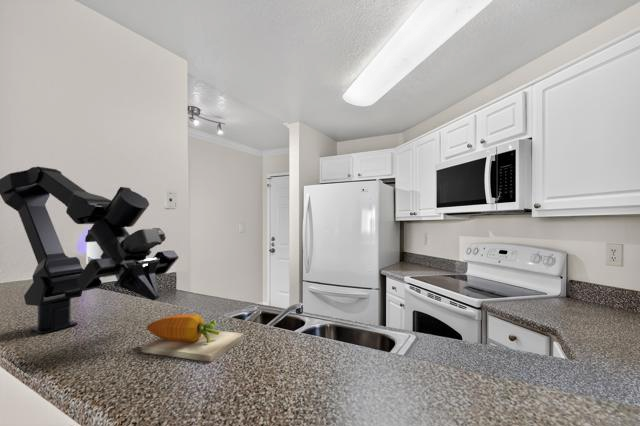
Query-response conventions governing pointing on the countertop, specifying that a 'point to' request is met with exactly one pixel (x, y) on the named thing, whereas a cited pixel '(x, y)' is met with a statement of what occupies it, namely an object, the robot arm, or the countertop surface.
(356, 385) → the countertop surface
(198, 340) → the cutting board
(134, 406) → the countertop surface
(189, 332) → the carrot
